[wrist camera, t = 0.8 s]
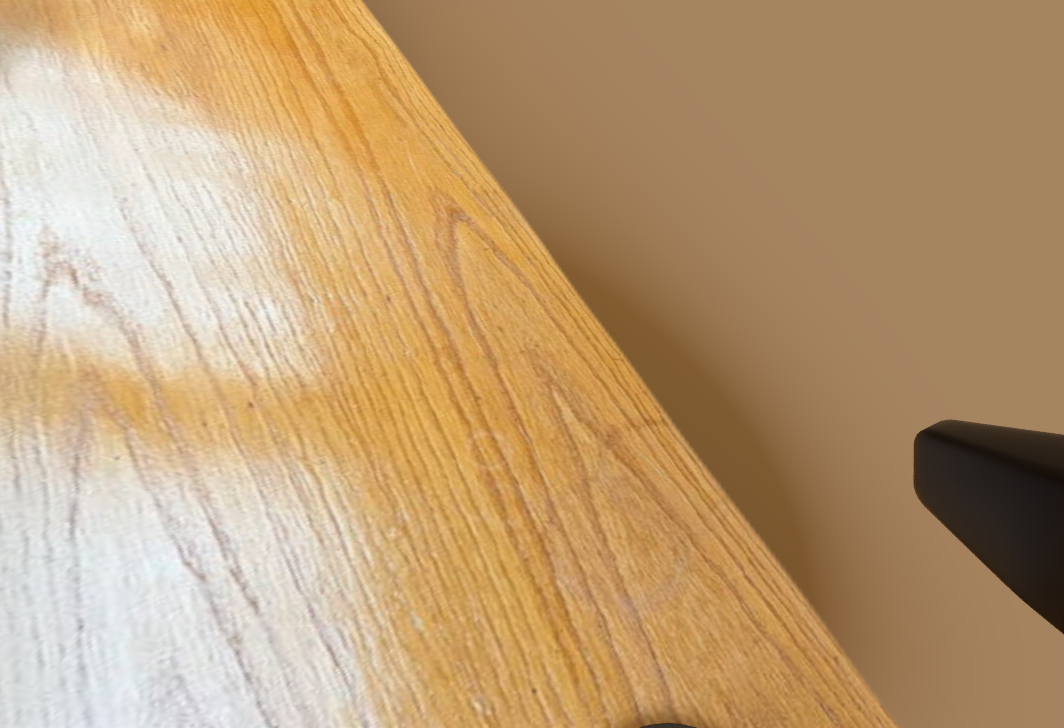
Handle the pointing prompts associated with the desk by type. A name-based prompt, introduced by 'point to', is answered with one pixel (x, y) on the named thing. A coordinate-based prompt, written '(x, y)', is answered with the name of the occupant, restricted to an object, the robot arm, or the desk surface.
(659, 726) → the coaster
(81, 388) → the desk surface
